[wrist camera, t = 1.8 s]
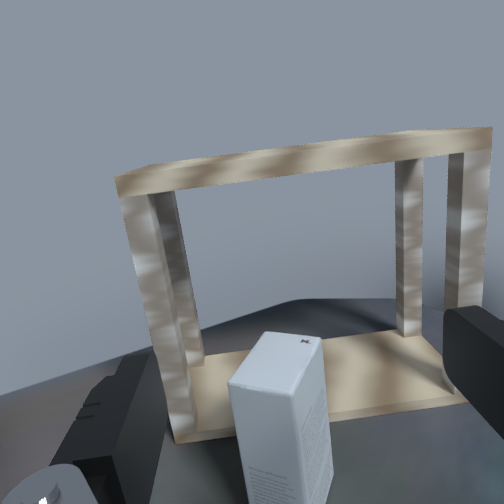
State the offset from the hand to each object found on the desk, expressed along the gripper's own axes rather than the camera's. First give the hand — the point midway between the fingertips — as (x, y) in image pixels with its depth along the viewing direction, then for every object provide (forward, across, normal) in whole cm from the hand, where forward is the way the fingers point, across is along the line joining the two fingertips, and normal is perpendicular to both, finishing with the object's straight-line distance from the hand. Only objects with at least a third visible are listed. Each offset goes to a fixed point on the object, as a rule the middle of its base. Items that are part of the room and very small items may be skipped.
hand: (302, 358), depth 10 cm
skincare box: (+11, 0, +19) cm, 22 cm away
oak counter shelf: (+24, -4, +19) cm, 31 cm away
